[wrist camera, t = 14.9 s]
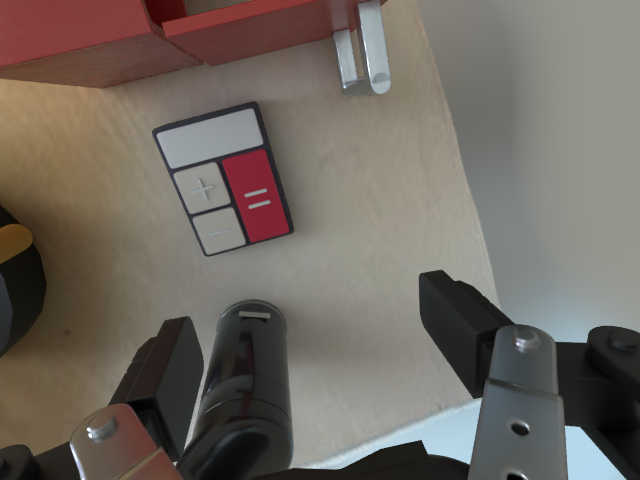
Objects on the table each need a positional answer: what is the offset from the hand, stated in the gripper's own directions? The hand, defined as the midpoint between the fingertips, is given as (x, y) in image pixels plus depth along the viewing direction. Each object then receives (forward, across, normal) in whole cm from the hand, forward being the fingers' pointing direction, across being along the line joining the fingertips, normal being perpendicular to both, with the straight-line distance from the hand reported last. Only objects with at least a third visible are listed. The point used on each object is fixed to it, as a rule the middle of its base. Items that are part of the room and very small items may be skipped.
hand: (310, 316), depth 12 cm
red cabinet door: (+32, -2, -10) cm, 33 cm away
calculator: (+32, +6, 0) cm, 33 cm away
